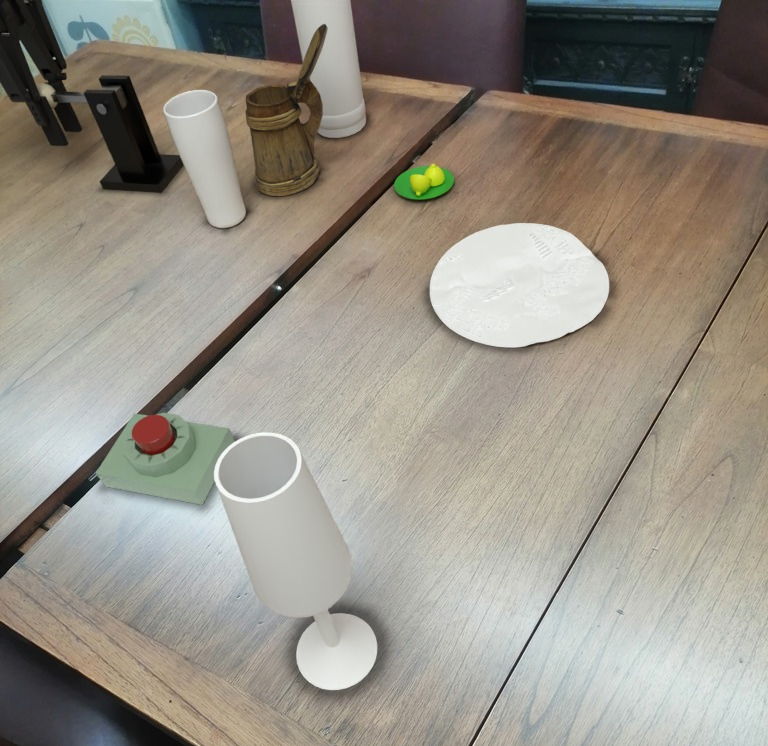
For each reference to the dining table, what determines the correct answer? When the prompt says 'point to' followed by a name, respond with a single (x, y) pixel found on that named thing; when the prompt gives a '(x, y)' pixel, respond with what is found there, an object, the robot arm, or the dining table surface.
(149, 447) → the button
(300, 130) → the wooden mug
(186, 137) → the drinking glass
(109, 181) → the lever bracket
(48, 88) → the lever
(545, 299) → the plaque
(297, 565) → the champagne flute
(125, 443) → the control block
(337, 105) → the bottle
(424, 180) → the lemon
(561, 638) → the dining table surface
